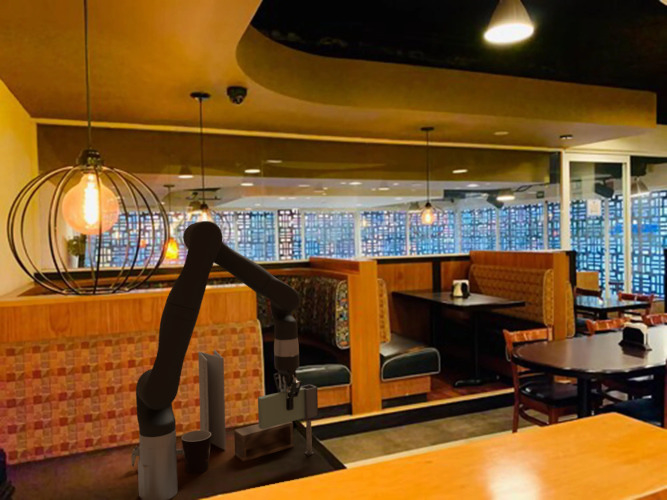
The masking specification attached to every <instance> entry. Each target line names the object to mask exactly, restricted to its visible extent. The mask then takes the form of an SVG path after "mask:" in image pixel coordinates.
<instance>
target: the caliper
mask: <svg viewBox="0 0 667 500" xmlns="http://www.w3.org/2000/svg"><path fill="white" fill-rule="evenodd" d="M178 455H181V456H182V455H184V452H183V448H176V456H178ZM130 457H131V458H130V459H131V466H132V467H135V463H136V459H137V457H139V458H138V460H140V445H139V446H137V445H135V448H133V449H132V452H131V456H130Z"/></svg>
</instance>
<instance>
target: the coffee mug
mask: <svg viewBox="0 0 667 500" xmlns="http://www.w3.org/2000/svg"><path fill="white" fill-rule="evenodd" d="M180 439H181V445H182V449H183V452H184V454H183V458H184V464H185V471H186V473H187V474H190V475H198V474H202V473H205V472H206V471H207V470H209V463H210V453H211V452H210V451H211V444H212V443H211V433H210V432H209V431H204V430H193V431H191V430H190V431H188V432H186V433H184V434H183V435H182V436H181V438H180Z"/></svg>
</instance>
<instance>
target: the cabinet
mask: <svg viewBox="0 0 667 500" xmlns="http://www.w3.org/2000/svg"><path fill="white" fill-rule="evenodd" d="M305 424H306V425H305V426H306V427H305V431H306V432H305V433H306V434H305V435H306V437H305V438H306V451H305V452H304V455H307V456H308V457H310V456H312V455H315V451H314V452H313V447H312V446H313V442H312V441H313V440H312V439H313V438H312V436H313V435H312V420H310V419H307V420H306V421H305ZM233 432H234V434H233V435H234V456H236V457H237V458H238V459H239V460H241V461H242V462H246V461H250V460H253V459H255V458H260V457H262V456H267V455H269V454H272V453H277V452H280V451H284V450H287V449H290V448H293V447H294V428H293V422H287V423H283V424H280V425H276V426H272V427H268V428H265V429H261V428H259V423H256V424H252V425H248V426H245V427H240V428H236V429H234V431H233Z"/></svg>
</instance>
